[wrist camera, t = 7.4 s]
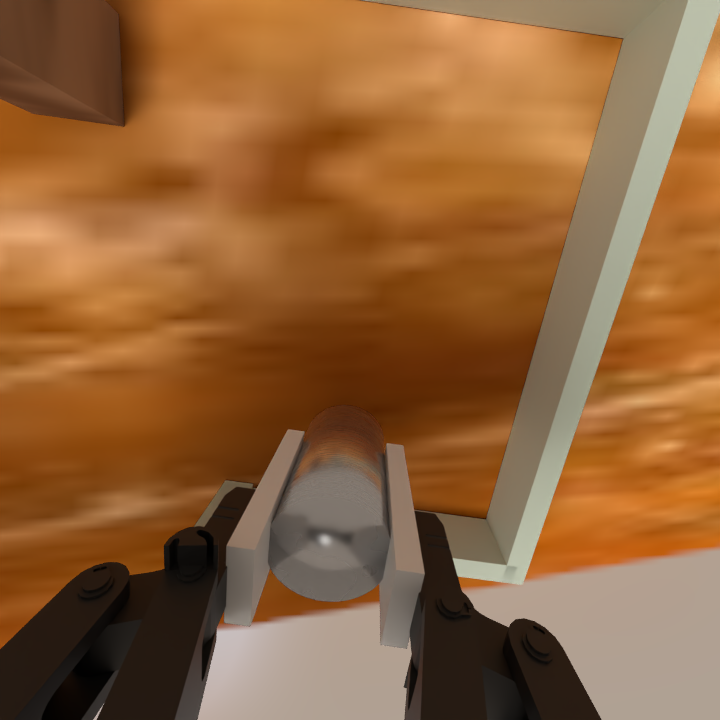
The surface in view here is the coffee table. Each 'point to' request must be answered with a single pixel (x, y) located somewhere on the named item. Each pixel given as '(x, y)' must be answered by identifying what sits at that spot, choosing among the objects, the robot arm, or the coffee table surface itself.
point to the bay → (579, 253)
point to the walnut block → (62, 59)
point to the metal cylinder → (334, 510)
